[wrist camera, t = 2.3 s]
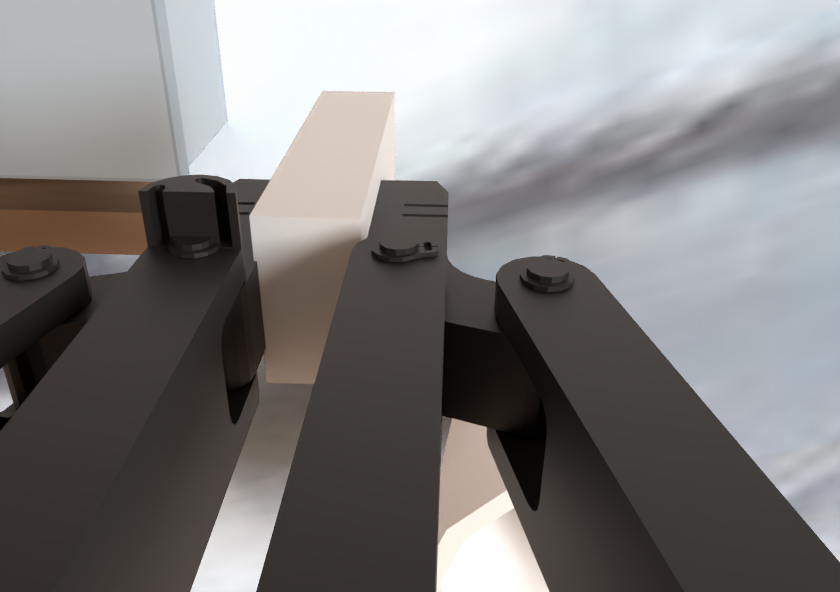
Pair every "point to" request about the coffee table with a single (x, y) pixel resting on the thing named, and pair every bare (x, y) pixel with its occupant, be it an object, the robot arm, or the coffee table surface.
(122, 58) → the gray block
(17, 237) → the bay
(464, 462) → the foam cup
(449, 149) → the coffee table surface
